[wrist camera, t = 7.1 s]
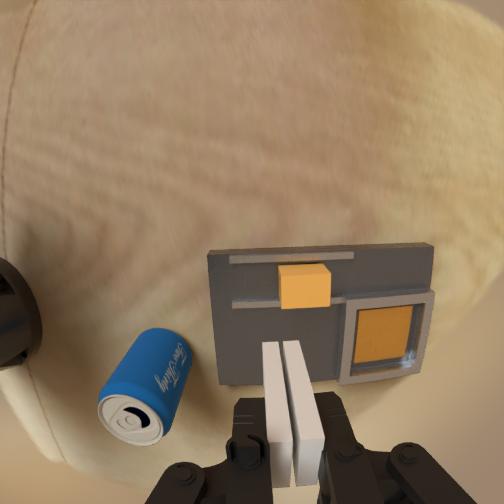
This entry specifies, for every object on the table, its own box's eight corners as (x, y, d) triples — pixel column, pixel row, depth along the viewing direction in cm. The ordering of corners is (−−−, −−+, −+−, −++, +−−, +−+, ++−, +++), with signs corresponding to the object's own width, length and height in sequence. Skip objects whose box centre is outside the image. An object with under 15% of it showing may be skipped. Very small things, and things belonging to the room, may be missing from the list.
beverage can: (205, 359, 33) (185, 436, 21) (163, 383, 33) (132, 456, 22) (167, 314, 31) (126, 379, 20) (126, 341, 32) (79, 406, 21)
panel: (221, 374, 33) (218, 393, 30) (210, 250, 30) (204, 259, 27) (409, 358, 33) (421, 374, 29) (424, 242, 30) (441, 249, 26)
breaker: (278, 295, 28) (281, 309, 25) (278, 265, 28) (281, 276, 25) (322, 293, 28) (330, 306, 25) (322, 263, 28) (331, 273, 25)
